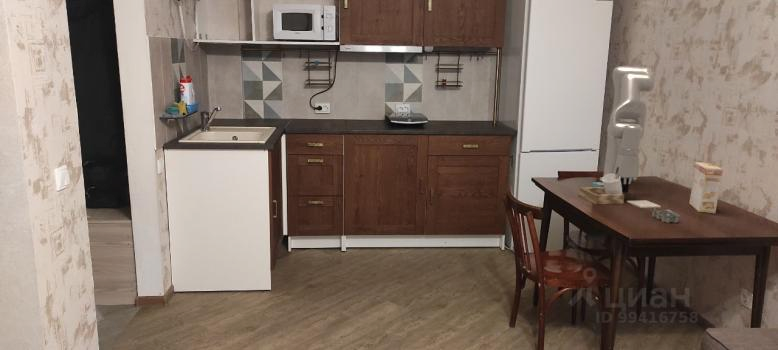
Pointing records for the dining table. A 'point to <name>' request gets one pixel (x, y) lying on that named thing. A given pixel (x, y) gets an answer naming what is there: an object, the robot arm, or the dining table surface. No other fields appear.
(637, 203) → the cream tile
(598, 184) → the teal block
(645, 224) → the dining table surface
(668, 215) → the grey stone ruin model
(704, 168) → the coffeecake box
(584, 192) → the oak bay
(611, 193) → the white cup
